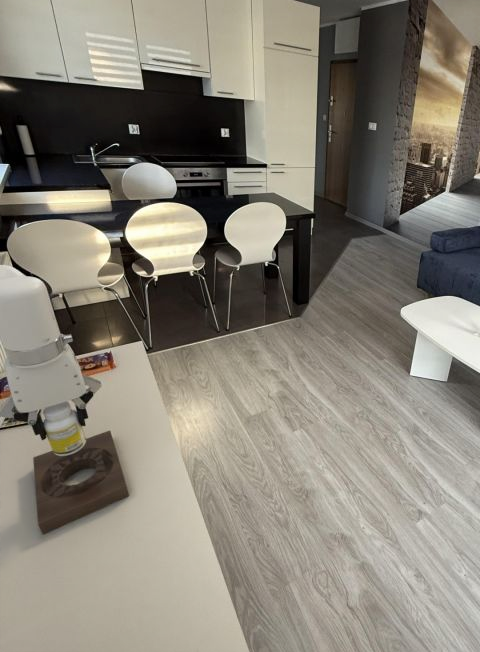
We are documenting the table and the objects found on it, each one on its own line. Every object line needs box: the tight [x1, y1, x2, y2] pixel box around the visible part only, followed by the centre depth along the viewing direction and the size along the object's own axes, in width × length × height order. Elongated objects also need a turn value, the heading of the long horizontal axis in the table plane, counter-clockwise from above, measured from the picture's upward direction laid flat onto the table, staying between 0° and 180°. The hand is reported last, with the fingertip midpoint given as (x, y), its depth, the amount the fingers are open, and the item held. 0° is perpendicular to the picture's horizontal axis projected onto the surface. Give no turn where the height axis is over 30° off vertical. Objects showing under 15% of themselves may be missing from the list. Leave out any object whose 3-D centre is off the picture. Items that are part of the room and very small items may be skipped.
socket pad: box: [32, 430, 130, 535], centre depth 81 cm, size 18×14×3 cm
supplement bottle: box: [42, 401, 87, 456], centre depth 75 cm, size 5×5×10 cm
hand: (63, 427), depth 75 cm, fingers closed on supplement bottle, 5 cm apart
